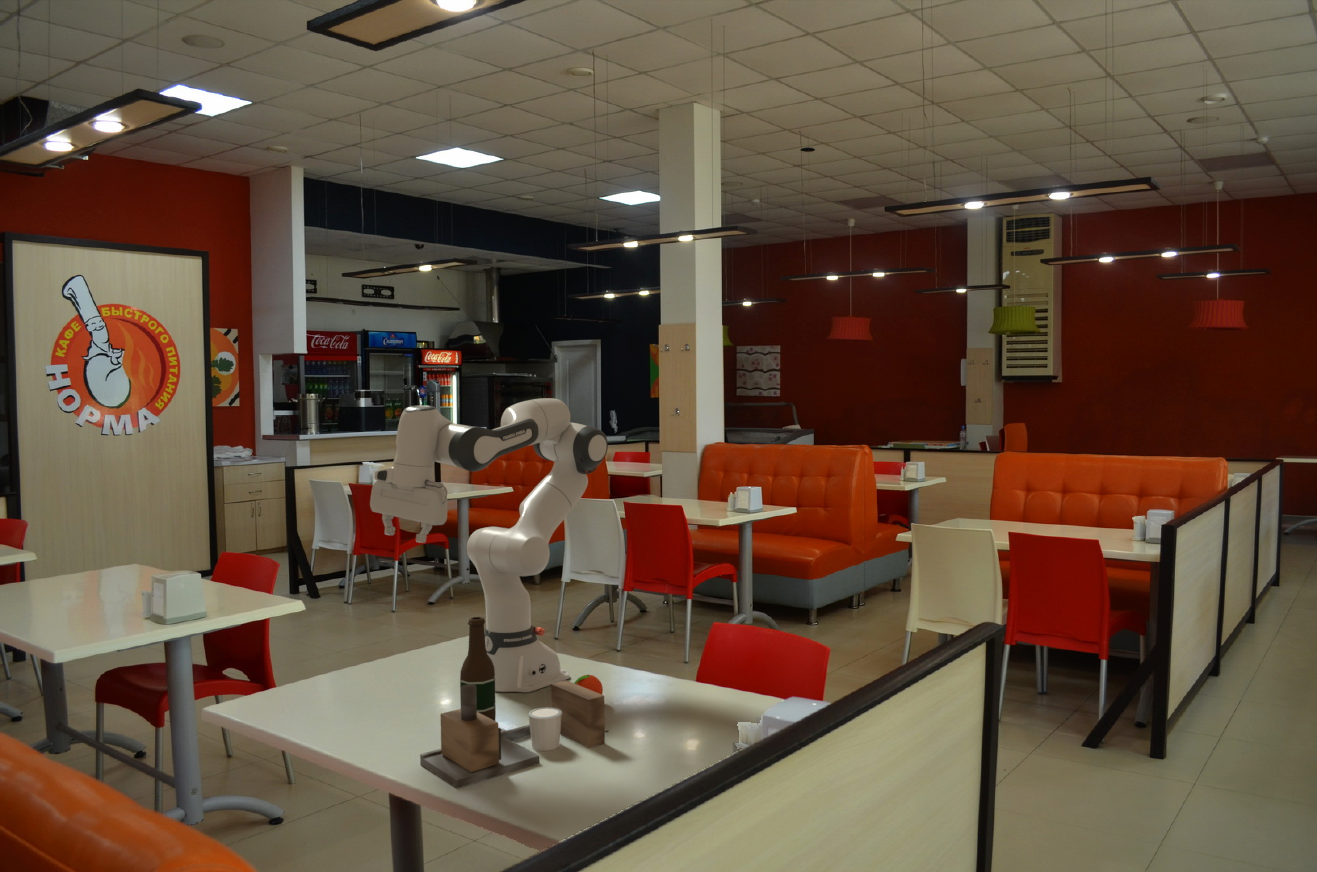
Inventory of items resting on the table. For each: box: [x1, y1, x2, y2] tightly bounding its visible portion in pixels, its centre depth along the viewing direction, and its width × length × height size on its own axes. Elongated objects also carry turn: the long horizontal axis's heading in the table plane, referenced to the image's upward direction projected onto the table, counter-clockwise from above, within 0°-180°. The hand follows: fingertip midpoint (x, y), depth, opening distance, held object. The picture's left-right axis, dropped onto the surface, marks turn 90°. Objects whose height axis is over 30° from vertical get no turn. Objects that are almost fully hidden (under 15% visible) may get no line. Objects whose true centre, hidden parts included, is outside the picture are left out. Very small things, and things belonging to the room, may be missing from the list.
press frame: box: [419, 679, 606, 789], centre depth 191 cm, size 34×15×10 cm, turn 130°
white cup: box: [528, 706, 562, 752], centre depth 195 cm, size 7×7×7 cm
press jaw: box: [440, 684, 502, 772], centre depth 184 cm, size 7×12×14 cm, turn 40°
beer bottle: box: [459, 616, 497, 721], centre depth 206 cm, size 8×8×24 cm
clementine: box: [573, 674, 604, 695], centre depth 220 cm, size 8×7×7 cm
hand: (404, 538), depth 211 cm, fingers open, 8 cm apart
